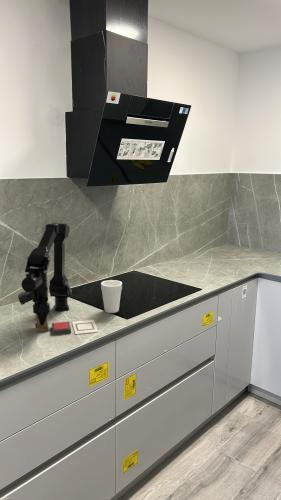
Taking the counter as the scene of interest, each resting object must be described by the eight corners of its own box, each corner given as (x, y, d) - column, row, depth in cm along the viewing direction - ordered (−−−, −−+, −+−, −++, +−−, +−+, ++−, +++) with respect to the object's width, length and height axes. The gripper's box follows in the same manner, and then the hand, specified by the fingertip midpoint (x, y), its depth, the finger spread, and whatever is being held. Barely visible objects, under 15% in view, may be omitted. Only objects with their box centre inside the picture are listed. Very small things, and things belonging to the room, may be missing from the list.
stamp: (35, 327, 161) (34, 308, 159) (48, 326, 162) (47, 307, 160) (35, 332, 156) (34, 313, 154) (48, 331, 158) (47, 312, 156)
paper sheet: (72, 322, 166) (72, 321, 166) (93, 320, 168) (93, 319, 168) (75, 334, 155) (75, 333, 154) (98, 332, 157) (98, 331, 157)
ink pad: (51, 326, 162) (51, 322, 161) (69, 324, 164) (68, 320, 163) (53, 334, 154) (52, 330, 154) (71, 332, 156) (70, 328, 156)
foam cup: (103, 315, 174) (103, 287, 171) (99, 307, 183) (99, 280, 180) (124, 313, 177) (124, 285, 174) (119, 305, 185) (119, 279, 182)
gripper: (19, 278, 161) (21, 314, 165) (18, 293, 144) (20, 332, 147) (46, 276, 164) (48, 311, 168) (49, 291, 147) (50, 329, 150)
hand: (41, 320), depth 158 cm, fingers open, 8 cm apart
